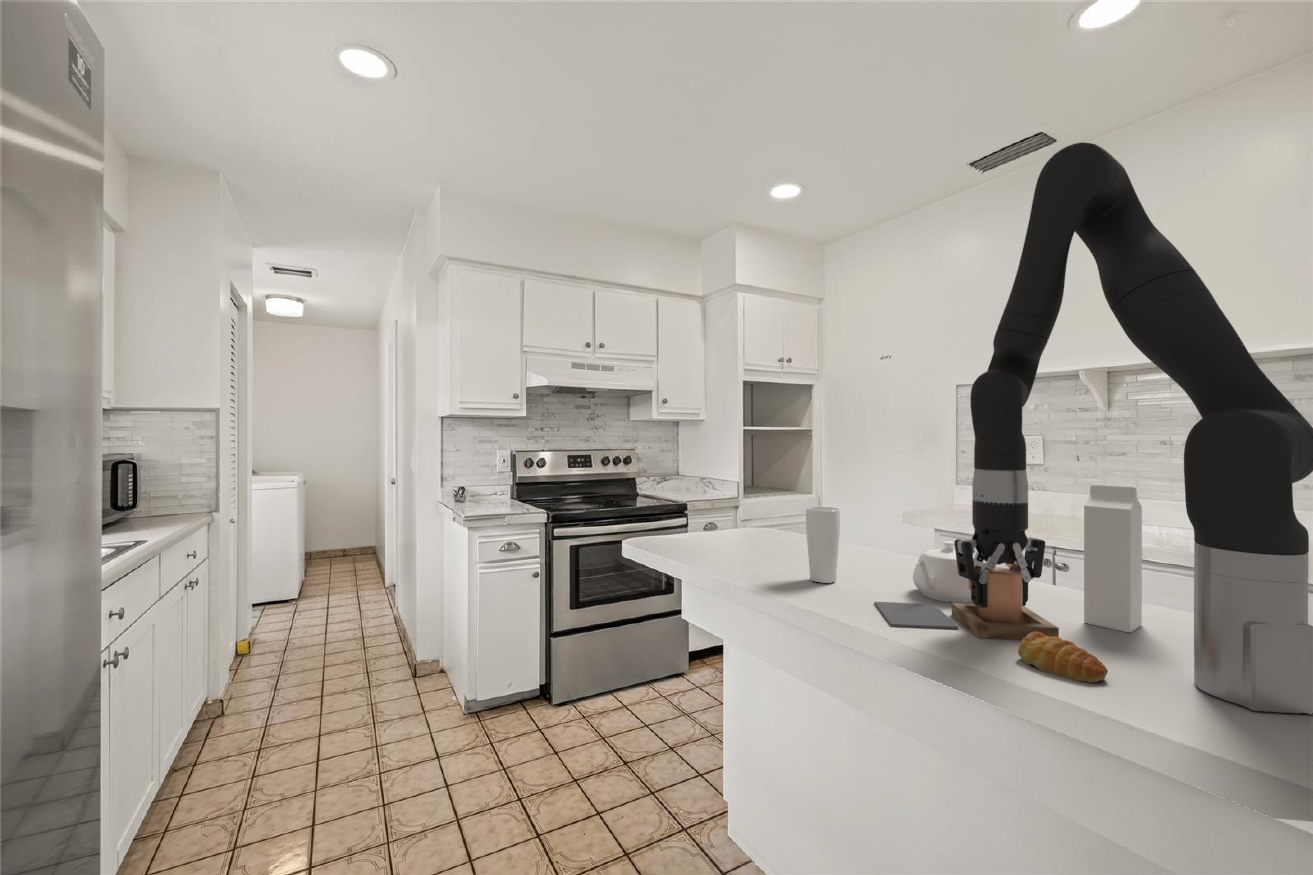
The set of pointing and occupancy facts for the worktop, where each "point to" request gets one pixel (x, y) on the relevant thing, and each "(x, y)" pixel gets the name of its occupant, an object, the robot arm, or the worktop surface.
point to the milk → (1113, 558)
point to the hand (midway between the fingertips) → (999, 605)
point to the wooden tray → (1002, 624)
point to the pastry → (1061, 658)
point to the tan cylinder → (1003, 596)
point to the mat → (915, 615)
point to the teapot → (941, 576)
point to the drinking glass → (823, 542)
